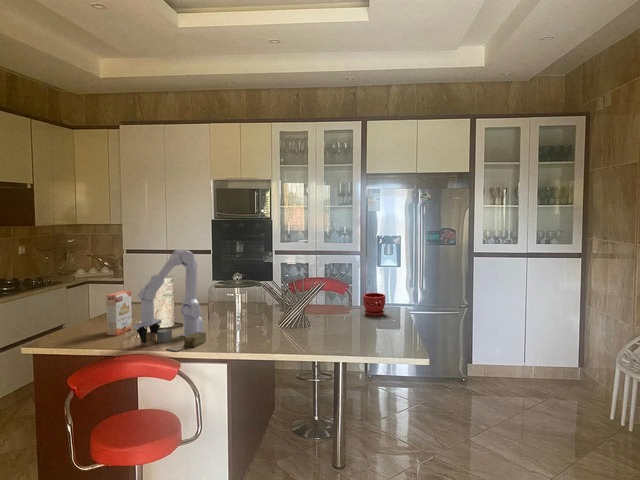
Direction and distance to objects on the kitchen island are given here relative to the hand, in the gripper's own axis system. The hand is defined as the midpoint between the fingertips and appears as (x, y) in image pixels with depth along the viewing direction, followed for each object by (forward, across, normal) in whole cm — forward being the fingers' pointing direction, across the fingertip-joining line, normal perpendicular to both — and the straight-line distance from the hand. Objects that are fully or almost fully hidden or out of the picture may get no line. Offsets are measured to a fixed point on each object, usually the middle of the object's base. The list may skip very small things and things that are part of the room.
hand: (148, 341), depth 238 cm
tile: (+1, 0, +18) cm, 18 cm away
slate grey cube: (+2, -8, +2) cm, 8 cm away
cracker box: (+2, -8, -31) cm, 32 cm away
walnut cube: (+1, 0, 0) cm, 1 cm away
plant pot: (+2, -111, +67) cm, 130 cm away
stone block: (+2, -11, +20) cm, 22 cm away
